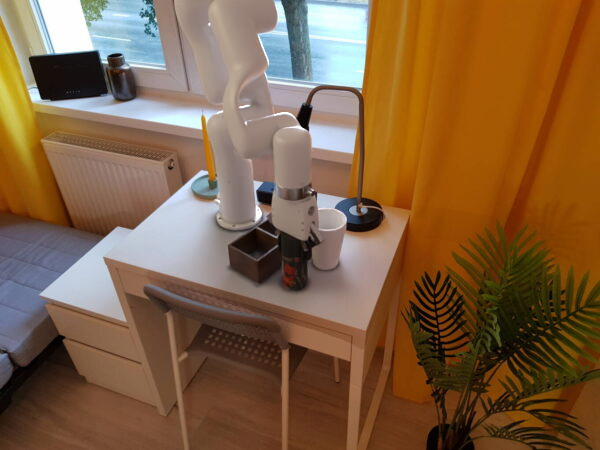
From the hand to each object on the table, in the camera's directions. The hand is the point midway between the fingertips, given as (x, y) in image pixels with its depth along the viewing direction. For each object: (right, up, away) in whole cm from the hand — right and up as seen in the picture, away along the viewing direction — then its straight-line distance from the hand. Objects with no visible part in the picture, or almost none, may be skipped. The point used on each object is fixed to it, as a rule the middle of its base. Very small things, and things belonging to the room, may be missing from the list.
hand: (294, 254), depth 111 cm
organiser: (-6, -1, +13) cm, 14 cm away
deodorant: (0, -7, +5) cm, 9 cm away
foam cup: (+8, -3, +11) cm, 14 cm away
